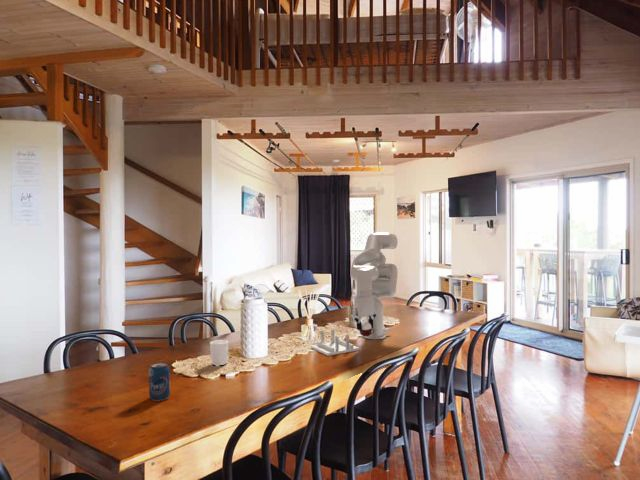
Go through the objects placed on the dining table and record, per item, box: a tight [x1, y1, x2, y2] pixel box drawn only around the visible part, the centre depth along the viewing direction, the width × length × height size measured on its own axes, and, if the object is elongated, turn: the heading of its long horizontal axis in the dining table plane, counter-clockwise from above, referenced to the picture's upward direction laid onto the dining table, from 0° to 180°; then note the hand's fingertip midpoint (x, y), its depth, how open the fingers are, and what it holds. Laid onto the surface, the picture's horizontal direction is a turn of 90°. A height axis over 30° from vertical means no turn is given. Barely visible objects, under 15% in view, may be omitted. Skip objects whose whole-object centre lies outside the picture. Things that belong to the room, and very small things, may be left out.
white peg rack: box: [310, 328, 360, 357], centre depth 217 cm, size 18×16×8 cm
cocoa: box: [358, 319, 374, 337], centre depth 218 cm, size 10×6×12 cm, turn 42°
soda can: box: [148, 361, 171, 402], centre depth 157 cm, size 7×7×12 cm
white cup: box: [209, 339, 229, 365], centre depth 195 cm, size 8×8×10 cm
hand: (365, 328), depth 218 cm, fingers closed on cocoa, 6 cm apart
